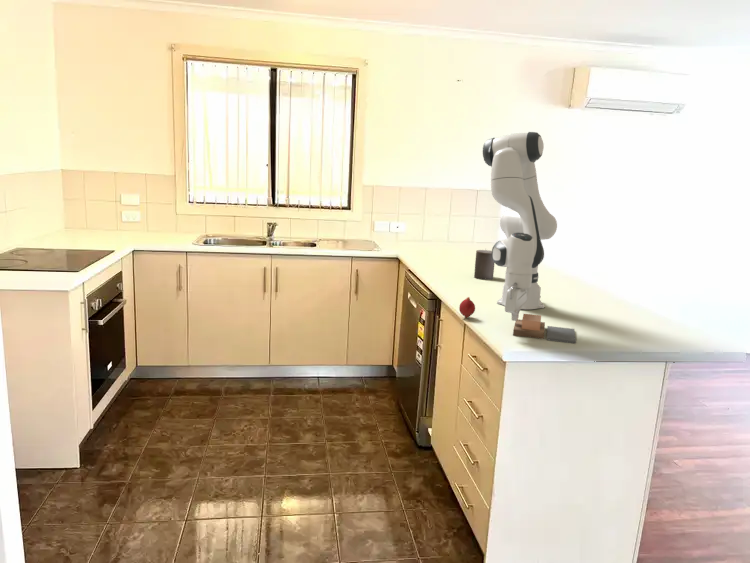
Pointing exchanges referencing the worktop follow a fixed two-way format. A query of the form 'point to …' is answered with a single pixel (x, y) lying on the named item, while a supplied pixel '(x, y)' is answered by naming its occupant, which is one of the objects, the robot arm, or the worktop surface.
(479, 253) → the pillar candle
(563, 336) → the mat
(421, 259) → the worktop surface
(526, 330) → the board
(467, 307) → the onion
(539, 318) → the orange rectangular block
